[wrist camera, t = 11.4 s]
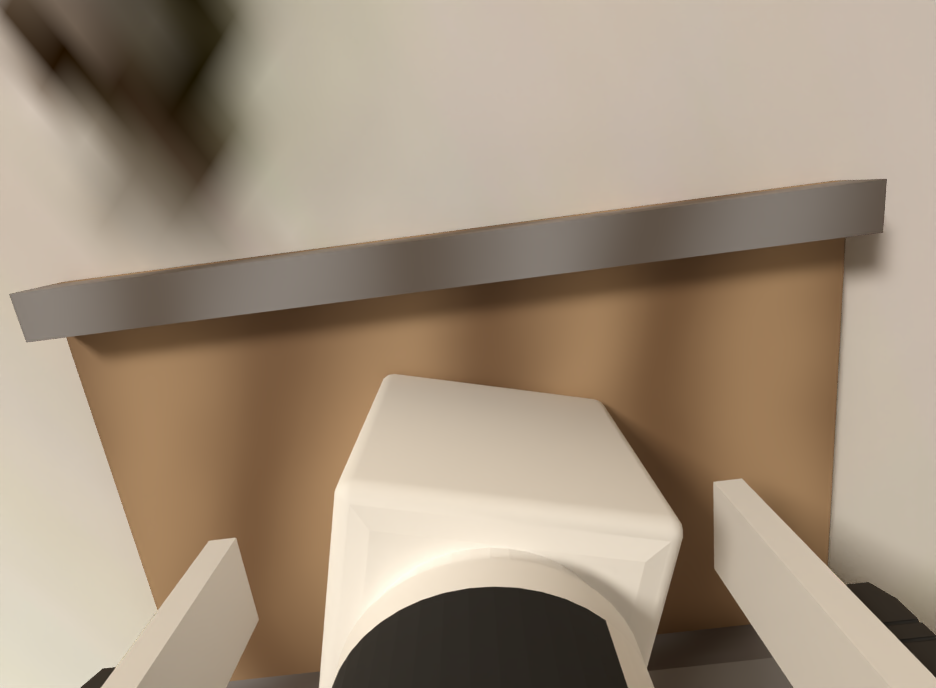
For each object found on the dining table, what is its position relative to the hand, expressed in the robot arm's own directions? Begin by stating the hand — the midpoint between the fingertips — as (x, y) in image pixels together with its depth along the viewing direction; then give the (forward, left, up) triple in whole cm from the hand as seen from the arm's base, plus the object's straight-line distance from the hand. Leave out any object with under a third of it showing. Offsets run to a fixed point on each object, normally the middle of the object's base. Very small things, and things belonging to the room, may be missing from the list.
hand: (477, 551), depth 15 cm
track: (0, 0, -4) cm, 4 cm away
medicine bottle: (0, 0, -4) cm, 4 cm away
